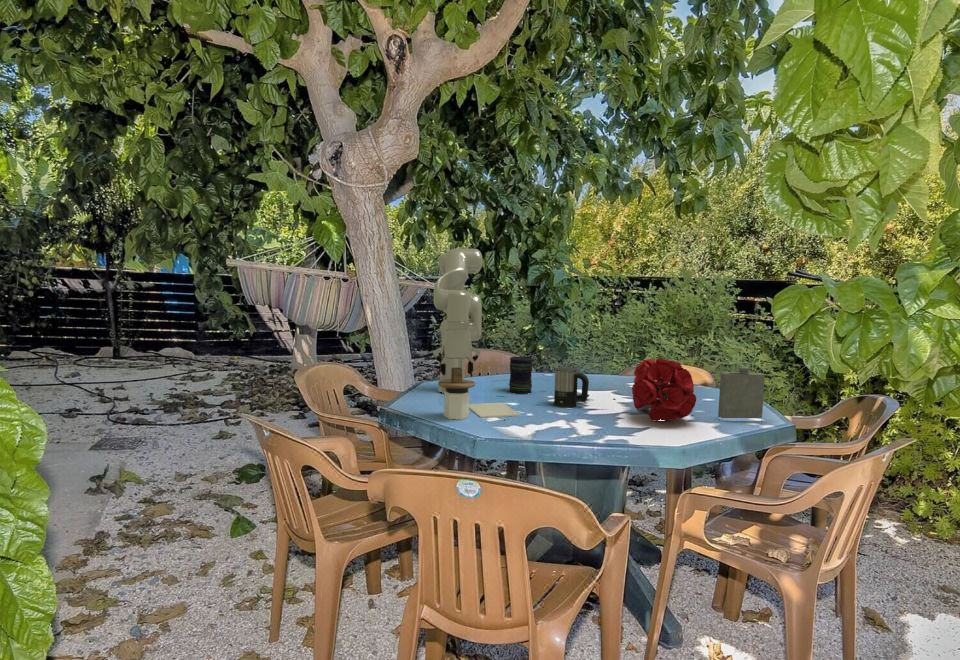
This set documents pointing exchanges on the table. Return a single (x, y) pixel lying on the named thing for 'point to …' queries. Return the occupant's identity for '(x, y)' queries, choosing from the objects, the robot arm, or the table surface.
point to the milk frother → (569, 387)
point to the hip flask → (741, 394)
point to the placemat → (492, 410)
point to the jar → (456, 403)
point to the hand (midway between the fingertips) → (456, 374)
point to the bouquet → (663, 389)
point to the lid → (456, 380)
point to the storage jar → (520, 375)
